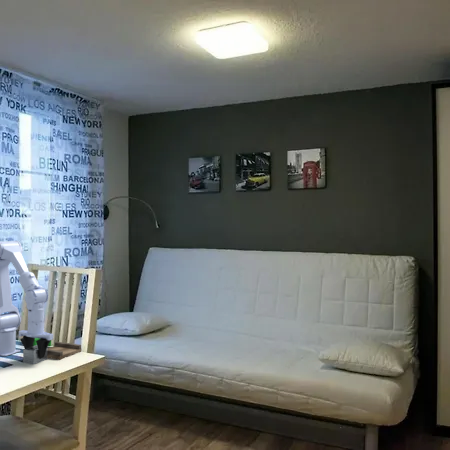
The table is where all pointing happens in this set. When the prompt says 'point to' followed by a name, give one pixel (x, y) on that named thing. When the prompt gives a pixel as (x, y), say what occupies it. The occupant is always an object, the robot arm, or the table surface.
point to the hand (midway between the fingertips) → (35, 357)
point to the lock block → (33, 355)
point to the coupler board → (62, 350)
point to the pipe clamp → (39, 339)
